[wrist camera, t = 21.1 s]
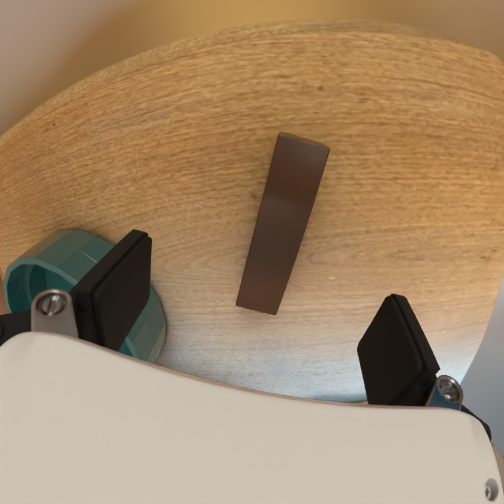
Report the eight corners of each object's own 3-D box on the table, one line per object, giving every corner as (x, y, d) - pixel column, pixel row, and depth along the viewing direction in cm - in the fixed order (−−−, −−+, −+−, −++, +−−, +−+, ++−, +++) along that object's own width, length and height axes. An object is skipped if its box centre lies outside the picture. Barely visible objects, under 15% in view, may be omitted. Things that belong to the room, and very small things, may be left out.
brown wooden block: (279, 131, 18) (278, 133, 15) (322, 143, 18) (330, 148, 15) (242, 280, 23) (235, 306, 20) (277, 289, 23) (275, 315, 20)
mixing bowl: (31, 211, 23) (-11, 236, 17) (173, 252, 23) (140, 297, 17) (53, 330, 31) (28, 361, 25) (166, 377, 31) (148, 419, 25)
